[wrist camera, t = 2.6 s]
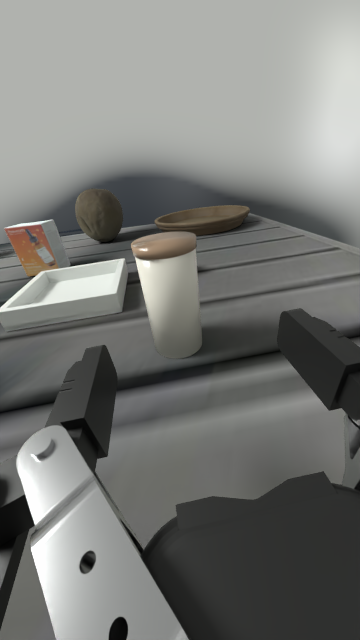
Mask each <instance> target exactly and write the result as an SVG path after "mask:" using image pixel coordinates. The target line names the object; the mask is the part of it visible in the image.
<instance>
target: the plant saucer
mask: <svg viewBox="0 0 360 640" xmlns="http://www.w3.org/2000/svg"><path fill="white" fill-rule="evenodd" d="M249 211H250V209H249V208H248V207H246V206H238V205H232V206H231V205H230V206H229V205H228V206H212V207H204V208H196V209H190V210H184V211H179V212H175V213H171V214H167V215H164V216H162V217H159V218H157V219H156V220H155V224H156V225H157V227H158V228H160V229H161V230H162V231H163V232H164V233H165V232H190V233H193V234H195V235H196V236H200V235H208V234H214V233H219V232H224V231H228V230H231V229H234V228H236V227H238V226H240V225H241V224H242V222H243V220H244V218H246V217H247V216H248V213H249Z"/></svg>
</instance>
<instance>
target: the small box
mask: <svg viewBox="0 0 360 640" xmlns="http://www.w3.org/2000/svg"><path fill="white" fill-rule="evenodd" d="M4 230H5V231H6V234H7V236H8V238H9V240H10V242H11V244H12V246H13V248H14V250H15V252H16V254H17V256H18V258H19V260H20V262H21V264H22V266H23V268H24V270H25V272H26V274H27V276H28V277H29V276H36V275H38V274H39V273H40V272H41V271H47V270H53V269H60V268H66V267H69V266H70V262H69V259H68V257H67V254H66V251H65V249H64V246H63V243H62V241H61V238H60V236H59V233H58V230H57V228H56V225H55V222H54V220H48V221H41V222H33V223H25V224H18V225H14V226H10V227H7V228H5V229H4Z"/></svg>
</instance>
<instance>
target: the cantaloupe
mask: <svg viewBox="0 0 360 640" xmlns="http://www.w3.org/2000/svg"><path fill="white" fill-rule="evenodd" d="M75 210H76V218H77V221H78V223H79V225H80V227H81V229H82V230H83V231H84V232H85V233H86V234H87V235H88V236H89V237H91V238H92V239H94V240H97V241H101V242H109V241H111V240H113V239H114V238H115V237H116V236H117V235H118V233H119V232H120V230H121V227H122V222H123V214H122V208H121V205H120V203H119V201H118V200H117V198H116V197H115V196H114V195H113V194H112V193H111V192H110V191H108V190H105V189H88V190H85V191H84V192H82V193H81V194H80V195H79V196H78V198H77V201H76V205H75Z"/></svg>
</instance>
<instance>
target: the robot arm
mask: <svg viewBox="0 0 360 640" xmlns="http://www.w3.org/2000/svg"><path fill="white" fill-rule="evenodd" d="M277 342H278V346H279V349H280V351H281V352H282V353H283V355H284V356H285V357H286V358H287V359H288V361H289V362H290V363H291V364H292V366H293V367H294V368H295V369H296V371H297V372H298V373H299V374H300V375H301V377H302V378H303V379H304V380H305V382H306V383H307V384H308V385H309V386H310V388H311V389H312V390H313V391H314V393H315V394H316V395H317V396H318V398H319V399H320V400H321V401H322V402H323V404H324V405H325V406H326V407H327V409H328V410H329V411H330V410H335V409H339V408H342V409H343V410H344V411H345V412H346V413H345V416H344V437H345V472H344V476H343V481H342V485H339V484H334V483H330V481H329V479H328V478H327V476H326V475H325V473H324V471H323V472H319V473H314V474H310V475H305V476H301V477H297V478H292V479H288V480H286V481H285V482H283V483H282V484H280V485H279V486H277V487H275V488H274V489H272V490H271V491H269V492H268V493H266V494H264V495H263V496H261V497H260V498H258V499H255V500H247V499H236V498H225V497H215V496H212V497H208V498H203V499H199V500H194V501H190V502H186V503H181V504H177V505H176V511H177V516H176V517H175V518H173V519H171V520H170V521H169V522H167V523H166V524H165V525H164V526H163V527H162V528H161V529H160V530H159V531H158V532H157V533H156V534H155V535H154V536H153V538H152V539H151V540H150V542H149V543H148V544H147V546H146V547H145V549H144V548H143V546H142V545H141V543H140V541H139V540H138V538H137V537H136V535H135V533H134V532H133V530H132V529H131V527H130V526H129V524H128V523H127V521H126V520H125V518H124V517H123V515H122V514H121V512H120V510H119V509H118V507H117V505H116V504H115V502H114V501H113V499H112V497H111V496H110V494H109V492H108V491H107V489H106V488H105V486H104V484H103V483H102V481H101V480H100V478H99V476H98V475H97V473H96V472H95V468H96V462H97V459H99V458H103V457H107V456H108V449H109V442H110V434H111V427H112V419H113V412H114V404H115V397H116V389H117V373H116V369H115V367H114V364H113V362H112V359H111V357H110V354H109V352H108V349H107V347H106V346H105V345H101V346H95V347H90V348H86V350H85V353H84V355H83V358H82V361H78V362H75V364H74V365H73V366H72V367H71V368H70V369H69V370H68V372H67V374H66V376H65V379H64V381H63V384H62V386H61V389H60V393H59V394H58V396H57V398H56V401H55V403H54V406H53V408H52V411H51V413H50V416H49V418H48V421H47V423H46V425H45V428H44V429H42V430H40V431H38V432H37V433H35V434H34V435H33V436H31V437H30V438H29V439H28V440H27V441H26V443H25V444H24V445H23V446H22V448H21V450H20V451H19V454H18V455H16V456H14V457H12V458H10V459H8V460H6V461H4V462H2V463H0V629H1V626H2V622H3V619H4V615H5V612H6V608H7V605H8V601H9V598H10V594H11V591H12V588H13V584H14V581H15V577H16V574H17V570H18V567H19V563H20V560H21V556H22V553H23V549H24V546H25V542H26V539H27V535H28V532H29V529H30V528H32V527H33V526H35V529H36V530H35V532H34V533H33V534H32V535H31V538H30V544H31V550H32V554H33V557H34V561H35V564H36V568H37V572H38V575H39V579H40V582H41V586H42V589H43V593H44V597H45V600H46V604H47V607H48V611H49V614H50V618H51V622H52V625H53V629H54V632H55V636H56V639H57V640H360V347H359V346H357V345H356V344H355V343H353V342H352V341H351V340H349V339H348V338H347V337H344V335H343V334H341V333H340V332H339V331H336V329H335V328H334V327H332V326H331V325H330V324H328V323H327V322H325V321H322V320H320V319H318V318H315V317H311V316H310V315H309V314H308V313H306V312H305V311H304V310H302V309H294V310H289V311H284V312H282V313H281V316H280V323H279V330H278V338H277Z"/></svg>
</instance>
